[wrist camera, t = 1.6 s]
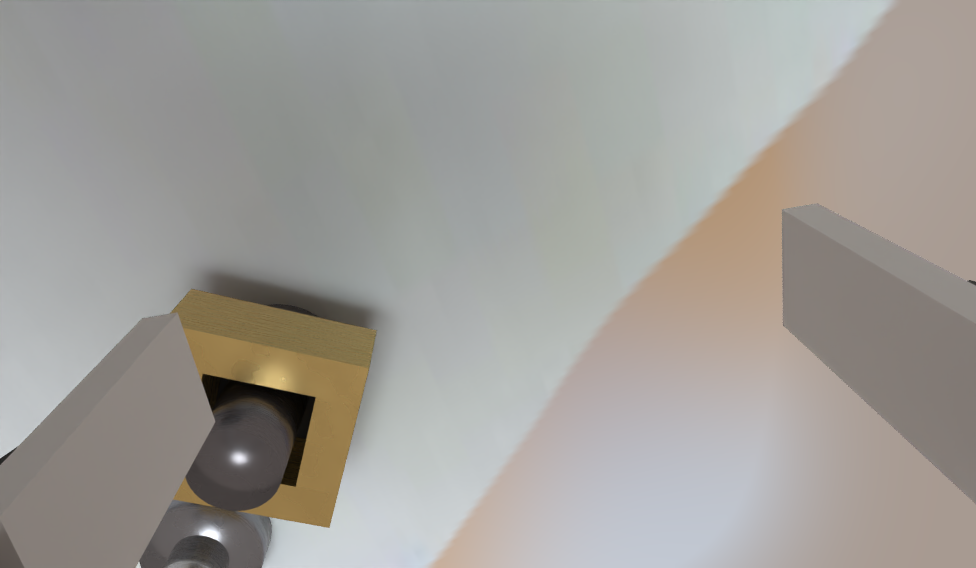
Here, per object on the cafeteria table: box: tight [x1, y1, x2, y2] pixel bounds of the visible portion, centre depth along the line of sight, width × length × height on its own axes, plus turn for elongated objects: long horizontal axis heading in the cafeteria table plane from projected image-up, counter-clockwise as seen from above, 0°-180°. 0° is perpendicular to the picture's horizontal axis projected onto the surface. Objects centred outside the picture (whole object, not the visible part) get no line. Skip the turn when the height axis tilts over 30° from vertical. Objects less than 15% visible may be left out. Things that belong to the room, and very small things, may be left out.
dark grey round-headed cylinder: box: [185, 305, 317, 511], centre depth 35 cm, size 7×7×10 cm
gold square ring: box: [170, 289, 376, 528], centre depth 35 cm, size 9×9×4 cm
